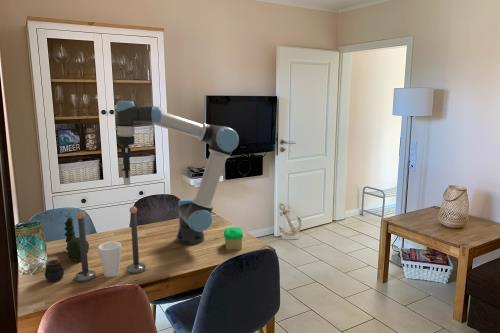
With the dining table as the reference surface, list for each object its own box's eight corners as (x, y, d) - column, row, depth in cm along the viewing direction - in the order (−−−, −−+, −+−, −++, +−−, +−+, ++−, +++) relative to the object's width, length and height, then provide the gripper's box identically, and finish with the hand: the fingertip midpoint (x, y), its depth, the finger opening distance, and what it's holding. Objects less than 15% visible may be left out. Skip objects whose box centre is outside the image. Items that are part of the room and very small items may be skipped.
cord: (139, 264, 173) (136, 205, 168) (140, 267, 170) (137, 207, 165) (132, 265, 172) (128, 206, 167) (132, 268, 169) (129, 208, 164)
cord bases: (144, 264, 176) (144, 261, 176) (146, 272, 169) (146, 268, 168) (76, 275, 166) (75, 271, 165) (75, 283, 158) (74, 279, 158)
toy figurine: (61, 254, 192) (72, 267, 172) (57, 217, 190) (68, 226, 170) (81, 249, 197) (94, 262, 177) (77, 214, 195) (90, 222, 175)
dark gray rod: (89, 271, 165) (84, 210, 160) (89, 274, 162) (84, 212, 157) (81, 272, 164) (76, 211, 159) (81, 276, 161) (76, 213, 156)
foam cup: (100, 280, 161) (98, 251, 159) (99, 271, 170) (97, 243, 167) (124, 276, 165) (122, 247, 163) (122, 267, 173) (120, 240, 171)
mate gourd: (66, 274, 166) (64, 253, 164) (61, 283, 159) (59, 261, 157) (49, 275, 165) (47, 254, 163) (42, 284, 157) (40, 262, 155)
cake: (224, 250, 192) (224, 232, 191) (223, 242, 203) (223, 225, 201) (243, 250, 193) (243, 231, 192) (242, 242, 204) (242, 224, 202)
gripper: (116, 133, 181) (117, 176, 185) (117, 138, 158) (118, 187, 162) (133, 133, 184) (133, 176, 187) (135, 138, 161) (136, 187, 164)
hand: (126, 181), depth 174 cm, fingers open, 13 cm apart
